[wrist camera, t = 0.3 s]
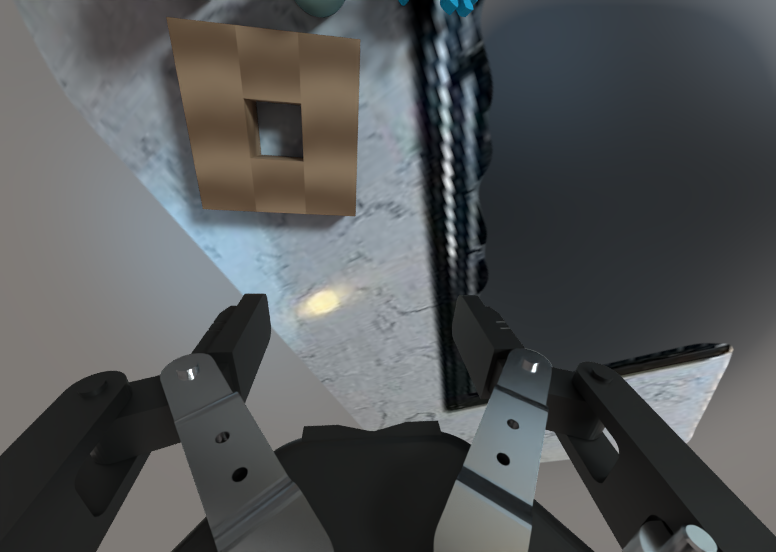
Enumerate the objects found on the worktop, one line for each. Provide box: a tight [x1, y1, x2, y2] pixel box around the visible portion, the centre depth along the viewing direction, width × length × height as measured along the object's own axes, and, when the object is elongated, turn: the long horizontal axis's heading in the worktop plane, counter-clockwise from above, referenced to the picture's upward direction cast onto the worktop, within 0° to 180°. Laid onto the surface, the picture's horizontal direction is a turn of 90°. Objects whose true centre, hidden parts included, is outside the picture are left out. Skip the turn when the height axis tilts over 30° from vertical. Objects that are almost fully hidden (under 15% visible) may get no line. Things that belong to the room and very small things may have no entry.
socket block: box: [166, 17, 360, 216], centre depth 31 cm, size 16×16×4 cm
